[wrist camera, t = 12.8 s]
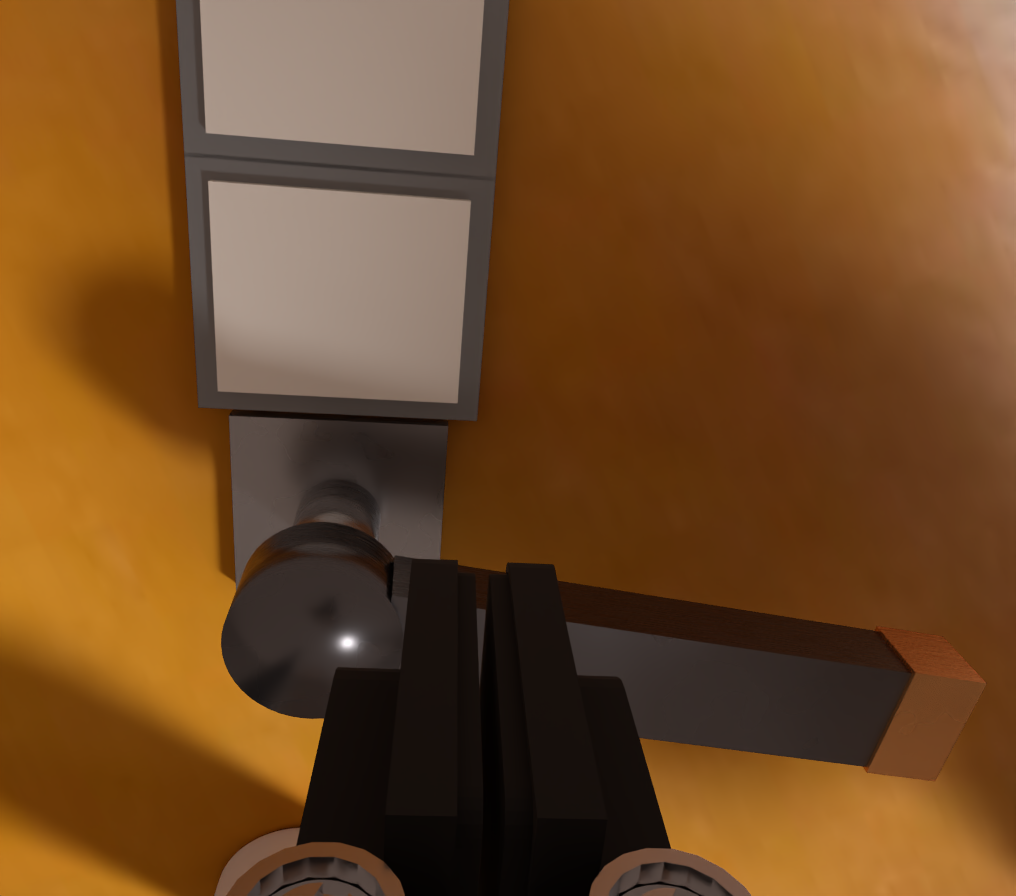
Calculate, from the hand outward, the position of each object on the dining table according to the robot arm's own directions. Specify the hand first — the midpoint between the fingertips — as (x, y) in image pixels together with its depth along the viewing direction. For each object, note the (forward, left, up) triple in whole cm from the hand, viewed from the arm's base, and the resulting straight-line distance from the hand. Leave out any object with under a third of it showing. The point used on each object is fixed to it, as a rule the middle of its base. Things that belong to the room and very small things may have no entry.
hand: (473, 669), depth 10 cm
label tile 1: (+3, -8, -15) cm, 17 cm away
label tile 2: (+3, -1, -15) cm, 15 cm away
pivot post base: (+3, +5, -15) cm, 16 cm away
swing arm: (-4, +6, -10) cm, 13 cm away
